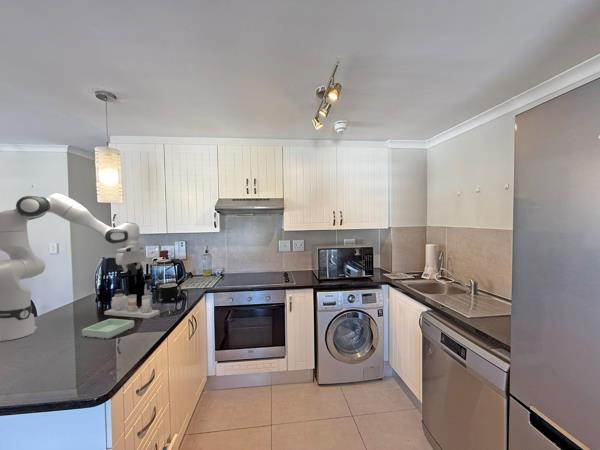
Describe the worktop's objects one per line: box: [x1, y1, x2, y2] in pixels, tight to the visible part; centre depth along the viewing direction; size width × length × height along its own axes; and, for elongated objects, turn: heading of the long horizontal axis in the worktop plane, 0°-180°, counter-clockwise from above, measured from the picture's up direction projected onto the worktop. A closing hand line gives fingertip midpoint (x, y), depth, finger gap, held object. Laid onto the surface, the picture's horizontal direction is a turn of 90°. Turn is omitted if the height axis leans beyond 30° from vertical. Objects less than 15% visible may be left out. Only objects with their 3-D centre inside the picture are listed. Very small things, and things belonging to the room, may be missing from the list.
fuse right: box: [141, 294, 151, 313], centre depth 169 cm, size 5×5×10 cm
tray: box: [81, 318, 135, 340], centre depth 144 cm, size 16×16×4 cm
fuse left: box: [113, 293, 123, 311], centre depth 173 cm, size 5×5×10 cm
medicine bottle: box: [111, 288, 128, 309], centre depth 185 cm, size 7×7×12 cm
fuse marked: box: [127, 294, 137, 312], centre depth 171 cm, size 5×5×10 cm
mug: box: [154, 283, 182, 304], centre depth 199 cm, size 16×16×12 cm
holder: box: [104, 305, 160, 319], centre depth 171 cm, size 32×9×5 cm, turn 79°
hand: (131, 270), depth 171 cm, fingers open, 8 cm apart
